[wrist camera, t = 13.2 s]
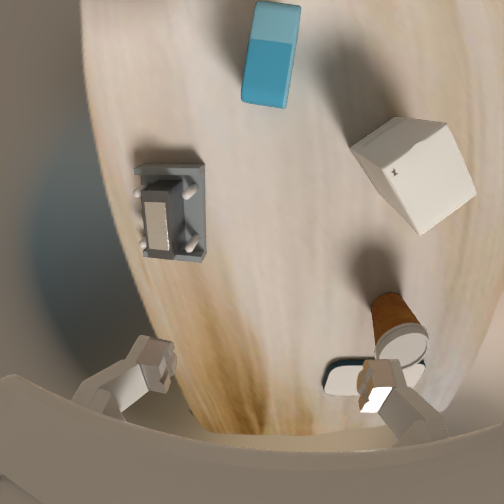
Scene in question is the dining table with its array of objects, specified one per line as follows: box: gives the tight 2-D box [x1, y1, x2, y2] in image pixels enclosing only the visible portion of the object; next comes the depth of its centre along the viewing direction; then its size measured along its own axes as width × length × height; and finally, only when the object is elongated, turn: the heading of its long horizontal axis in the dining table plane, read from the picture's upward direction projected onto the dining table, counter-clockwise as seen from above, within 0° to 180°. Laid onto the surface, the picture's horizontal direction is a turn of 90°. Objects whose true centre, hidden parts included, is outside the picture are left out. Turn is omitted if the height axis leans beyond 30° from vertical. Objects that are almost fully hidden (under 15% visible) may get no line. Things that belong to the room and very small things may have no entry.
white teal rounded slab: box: [323, 360, 426, 396], centre depth 57 cm, size 24×12×2 cm, turn 89°
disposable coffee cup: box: [371, 293, 430, 370], centre depth 43 cm, size 10×10×12 cm
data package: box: [241, 1, 301, 109], centre depth 28 cm, size 12×4×12 cm, turn 172°
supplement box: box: [350, 117, 477, 236], centre depth 31 cm, size 9×9×15 cm
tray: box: [133, 164, 207, 263], centre depth 43 cm, size 15×10×5 cm
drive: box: [141, 180, 186, 260], centre depth 41 cm, size 10×4×6 cm, turn 178°
